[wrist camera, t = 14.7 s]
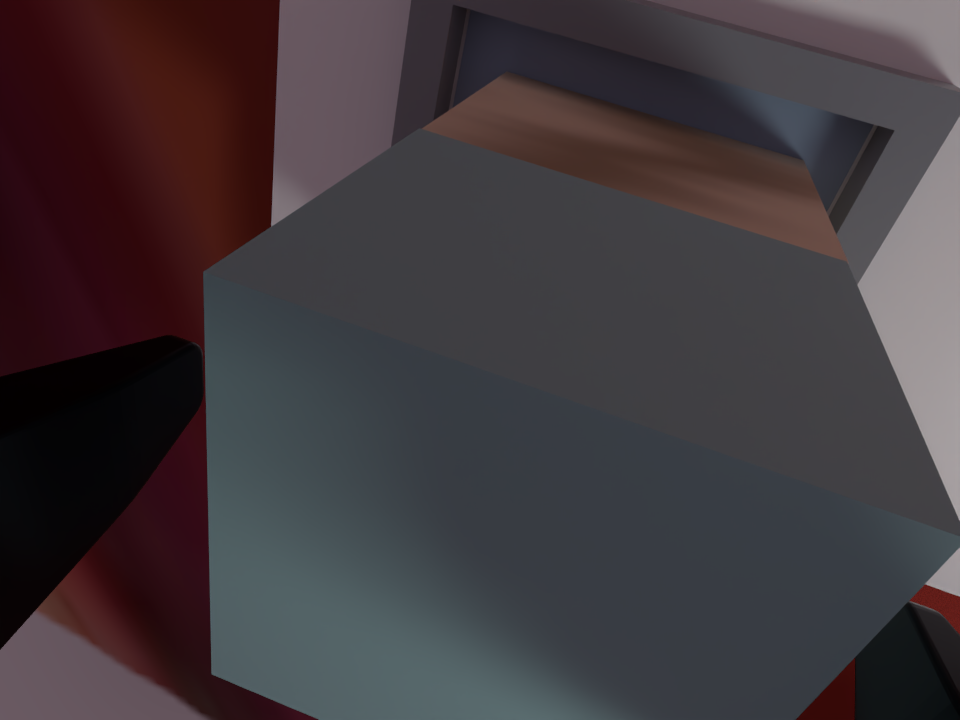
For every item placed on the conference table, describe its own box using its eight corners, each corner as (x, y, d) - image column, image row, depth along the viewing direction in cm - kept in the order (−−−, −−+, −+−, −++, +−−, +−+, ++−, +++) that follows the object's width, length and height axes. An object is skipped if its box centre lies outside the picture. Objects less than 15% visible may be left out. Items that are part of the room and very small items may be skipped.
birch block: (803, 160, 13) (848, 263, 9) (682, 400, 16) (675, 555, 12) (507, 71, 14) (421, 129, 10) (450, 320, 17) (369, 441, 13)
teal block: (846, 261, 9) (966, 539, 5) (674, 554, 12) (659, 863, 8) (419, 128, 10) (203, 272, 5) (368, 440, 13) (211, 674, 9)
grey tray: (1377, 108, 12) (1550, 153, 10) (961, 547, 19) (1000, 639, 16) (335, -164, 14) (257, -185, 12) (300, 317, 21) (246, 367, 18)
